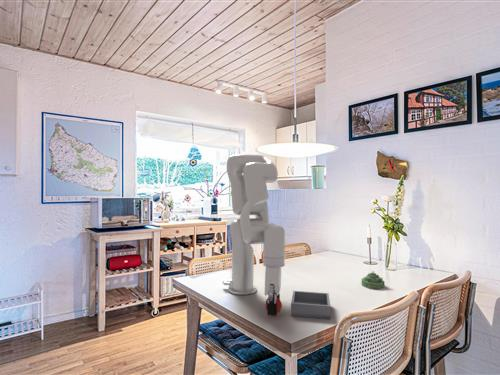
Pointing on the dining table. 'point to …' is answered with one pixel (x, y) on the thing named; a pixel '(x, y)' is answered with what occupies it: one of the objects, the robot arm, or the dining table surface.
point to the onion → (277, 304)
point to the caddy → (310, 305)
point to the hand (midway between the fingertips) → (273, 309)
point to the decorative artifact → (373, 281)
